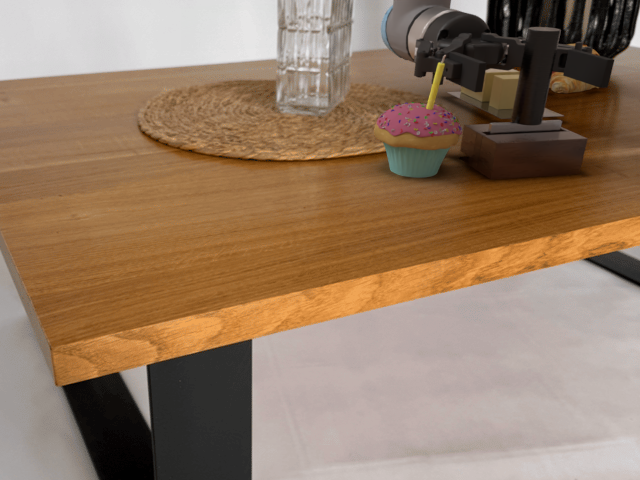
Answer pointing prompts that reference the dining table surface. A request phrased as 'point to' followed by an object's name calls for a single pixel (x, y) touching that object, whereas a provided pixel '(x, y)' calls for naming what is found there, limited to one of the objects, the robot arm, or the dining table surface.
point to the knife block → (522, 152)
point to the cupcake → (418, 134)
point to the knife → (533, 85)
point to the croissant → (568, 81)
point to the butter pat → (503, 91)
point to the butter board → (495, 111)
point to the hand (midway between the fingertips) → (545, 75)
